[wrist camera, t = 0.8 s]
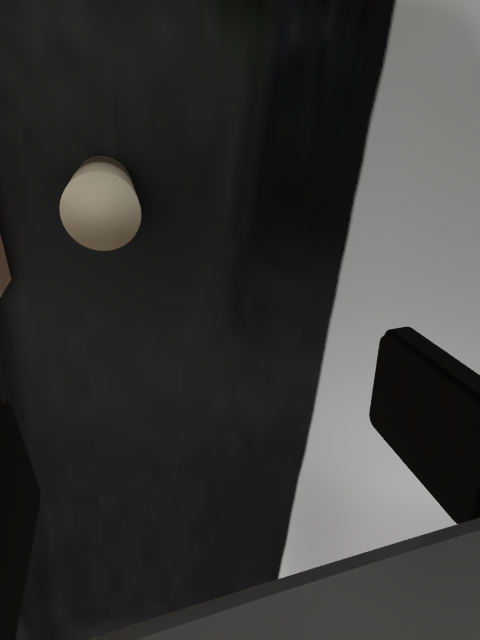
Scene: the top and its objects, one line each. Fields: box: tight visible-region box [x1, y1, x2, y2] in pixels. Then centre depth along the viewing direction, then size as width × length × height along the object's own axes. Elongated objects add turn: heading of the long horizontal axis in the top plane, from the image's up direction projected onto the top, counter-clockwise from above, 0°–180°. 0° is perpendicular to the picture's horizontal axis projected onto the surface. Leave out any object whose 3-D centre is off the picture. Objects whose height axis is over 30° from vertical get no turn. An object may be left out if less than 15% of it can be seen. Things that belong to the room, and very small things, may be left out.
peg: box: [60, 156, 141, 251], centre depth 26 cm, size 4×4×10 cm
